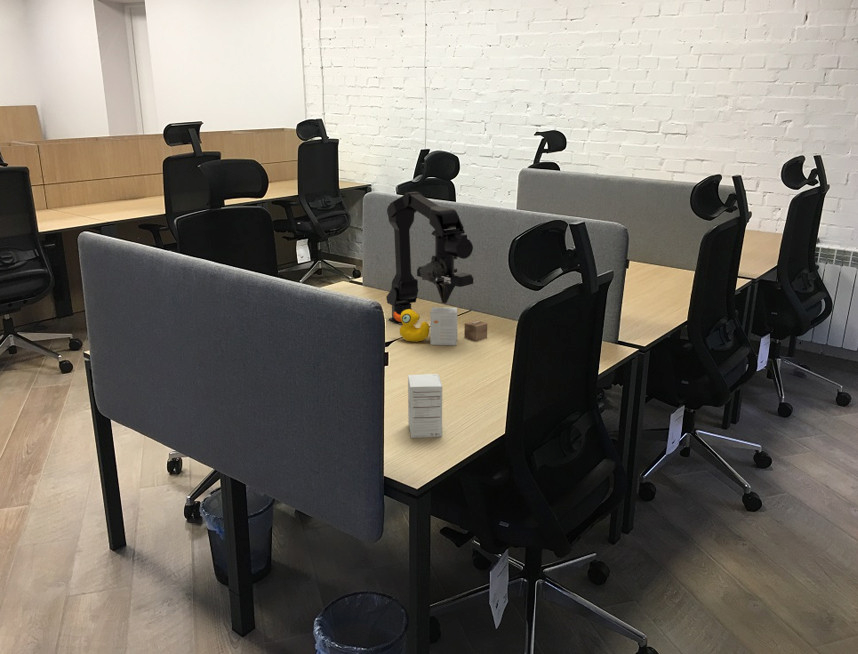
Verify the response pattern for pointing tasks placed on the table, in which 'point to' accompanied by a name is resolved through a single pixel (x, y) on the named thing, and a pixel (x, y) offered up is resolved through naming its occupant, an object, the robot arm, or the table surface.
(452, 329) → the small box
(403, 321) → the duckling
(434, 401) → the supplement box
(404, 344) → the table surface
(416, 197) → the robot arm
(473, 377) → the table surface
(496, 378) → the table surface
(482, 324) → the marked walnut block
